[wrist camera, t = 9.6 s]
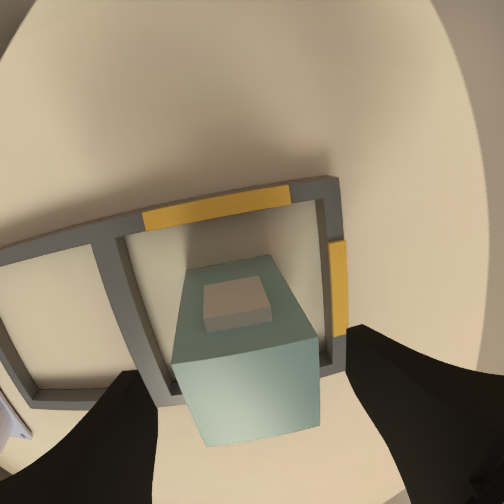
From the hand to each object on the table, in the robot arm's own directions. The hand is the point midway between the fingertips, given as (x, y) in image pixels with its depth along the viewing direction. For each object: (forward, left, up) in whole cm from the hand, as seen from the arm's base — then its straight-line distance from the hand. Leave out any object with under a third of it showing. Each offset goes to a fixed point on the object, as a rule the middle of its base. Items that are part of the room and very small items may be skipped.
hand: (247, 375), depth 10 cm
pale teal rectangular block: (0, 0, -6) cm, 6 cm away
